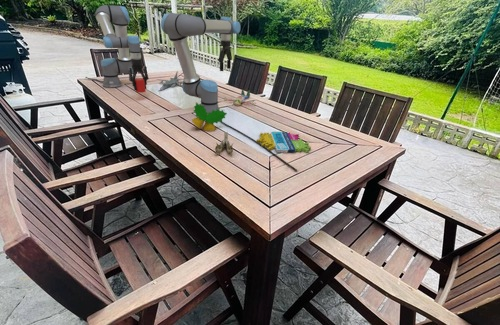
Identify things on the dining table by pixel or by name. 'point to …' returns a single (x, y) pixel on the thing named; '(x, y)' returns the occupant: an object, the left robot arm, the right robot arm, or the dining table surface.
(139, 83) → the can
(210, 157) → the dining table surface
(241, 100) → the toy
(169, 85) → the airplane
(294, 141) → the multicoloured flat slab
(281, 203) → the dining table surface
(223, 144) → the jawbone
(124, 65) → the left robot arm
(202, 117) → the ornament
